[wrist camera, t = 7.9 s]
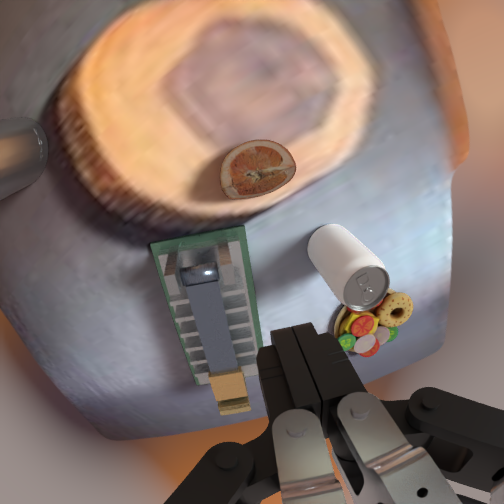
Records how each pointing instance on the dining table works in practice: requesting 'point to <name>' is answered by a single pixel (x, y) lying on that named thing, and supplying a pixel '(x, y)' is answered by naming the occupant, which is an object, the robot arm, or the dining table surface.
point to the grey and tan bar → (213, 329)
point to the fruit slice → (256, 169)
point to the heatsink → (233, 294)
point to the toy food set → (372, 324)
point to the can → (348, 267)
